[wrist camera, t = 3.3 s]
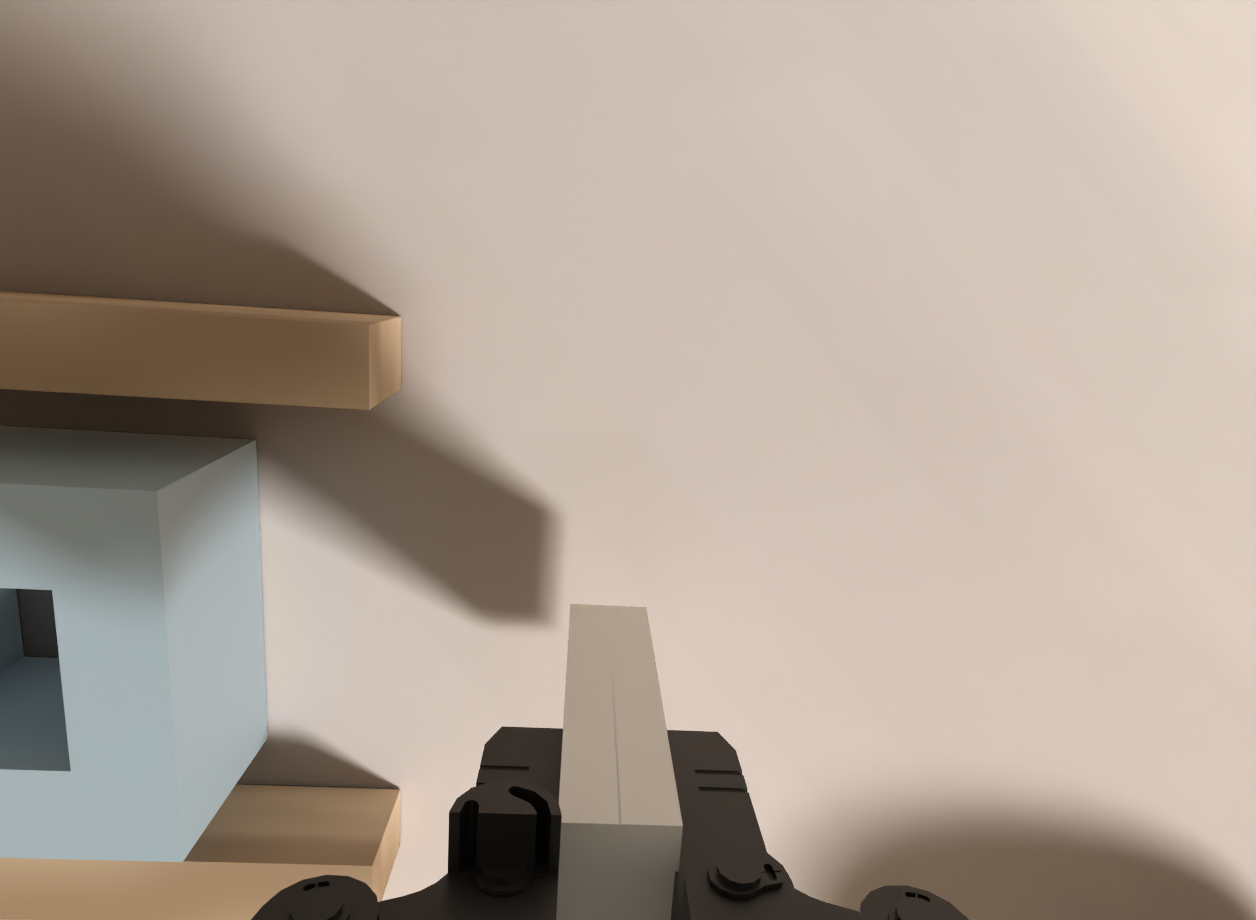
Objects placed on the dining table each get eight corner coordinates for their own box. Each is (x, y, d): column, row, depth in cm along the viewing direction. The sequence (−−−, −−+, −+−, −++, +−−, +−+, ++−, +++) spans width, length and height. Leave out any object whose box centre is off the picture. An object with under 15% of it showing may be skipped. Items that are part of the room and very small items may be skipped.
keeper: (-94, 420, 17) (-305, 468, 13) (256, 439, 17) (157, 490, 13) (-51, 726, 18) (-226, 851, 14) (267, 737, 19) (182, 862, 15)
